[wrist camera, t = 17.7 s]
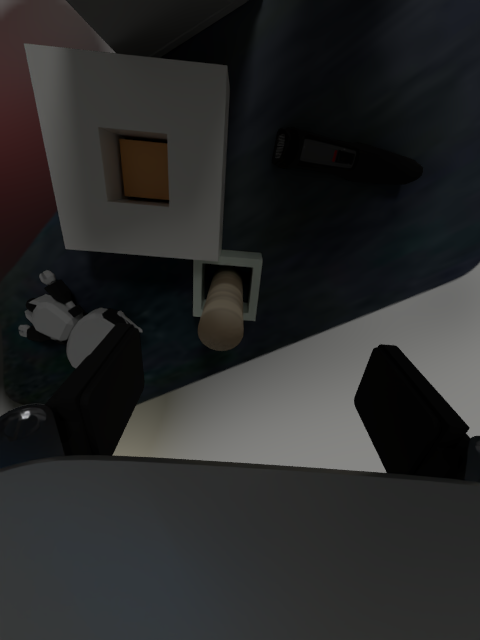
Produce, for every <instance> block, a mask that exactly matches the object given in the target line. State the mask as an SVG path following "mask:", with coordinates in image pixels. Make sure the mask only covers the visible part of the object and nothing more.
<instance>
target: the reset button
mask: <svg viewBox="0 0 480 640" xmlns="http://www.w3.org/2000/svg"><path fill="white" fill-rule="evenodd" d="M119 143H120V153H121V163H122V173H123V183H124V194H125V196H130V197H141V198H152V199H163V200H169V179H168V147H167V143H157V142H147V141H137V140H127V139H119Z"/></svg>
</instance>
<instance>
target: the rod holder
mask: <svg viewBox="0 0 480 640" xmlns="http://www.w3.org/2000/svg"><path fill="white" fill-rule="evenodd" d="M262 261H263V259H262V255H261V253H256V252H244V251H233V250H221V253H220V256H219V260H218V262H217V261H205V260H193V316H195V317H201V315H202V312H203V309H204V305H205V302H206V299H204V298H205V263H206V264H218V265H230V266H242V267H251V276H250V285H249V295H248V303H244V302H243V320H247V321H255V319H256V311H257V303H258V294H259V286H260V278H261V270H262Z"/></svg>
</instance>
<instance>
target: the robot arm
mask: <svg viewBox="0 0 480 640" xmlns="http://www.w3.org/2000/svg"><path fill="white" fill-rule="evenodd" d="M143 388H144V373H143V363H142V353H141V344H140V334H139V329H138V328H135V327H134V325H133V324H125V323H117V324H116V325H115V326H114V327H113V328H112V329H111V331H110V332H109V333H108V334H107V335H106V336H105V338H104V339H103V340H102V341H101V342H100V343H99V345H98V346H97V347H96V348H95V349H94V350H93V351H92V353H91V354H90V355H88V356H87V357H86V358H85V359H84V360H83V361H82V362H81V364H80V365H79V366H78V367H77V368H76V369H75V370H74V372H73V373H72V374H71V375H70V376H69V377H68V379H67V380H66V381H65V382H64V383H63V384H62V385H61V387H60V388H59V389H58V390H57V391H56V392H55V393H54V395H53V396H52V397H51V398H50V399H49V400H48V402H47V403H46V404H45V405H43V404H28V405H24V406H20V407H17V408H15V409H13V410H11V411H8V412H7V413H5V414H3V415H2V416H0V640H480V436H474V437H472V438H469V436H468V435H467V434H466V432H467V431H468V430H469V427H468V425H467V424H466V423H465V422H464V421H463V420H462V419H461V417H460V416H459V415H458V414H457V413H456V412H455V411H454V410H453V409H452V407H450V405H449V404H448V403H447V402H446V401H445V400H444V398H443V397H442V396H441V395H440V394H439V393H438V392H437V391H436V390H435V388H434V387H433V386H432V385H431V384H430V383H429V382H428V381H427V379H426V378H425V377H424V376H423V375H422V374H421V373H420V372H419V370H417V368H416V367H415V366H414V365H413V364H412V363H411V361H410V360H409V359H408V358H407V357H406V356H405V355H404V354H403V353H402V351H401V350H400V349H399V348H398V347H397V346H394V345H382V344H381V345H379V346H378V347H377V348H374V349H373V351H372V353H371V356H370V359H369V361H368V364H367V367H366V369H365V372H364V374H363V377H362V380H361V382H360V385H359V387H358V390H357V392H356V395H355V398H354V404H355V407H356V409H357V411H358V413H359V416H360V418H361V420H362V422H363V424H364V426H365V428H366V430H367V432H368V434H369V436H370V438H371V441H372V442H373V445H374V447H375V449H376V451H377V453H378V455H379V457H380V459H381V461H382V464H383V466H384V468H385V470H386V472H387V473H378V472H364V471H349V470H337V469H323V468H307V467H293V466H279V465H264V464H249V463H233V462H218V461H201V460H186V459H169V458H153V457H129V456H112V455H113V453H114V451H115V449H116V446H117V444H118V442H119V440H120V438H121V436H122V434H123V432H124V429H125V427H126V425H127V423H128V421H129V419H130V417H131V415H132V412H133V410H134V408H135V406H136V404H137V402H138V400H139V398H140V395H141V393H142V391H143Z"/></svg>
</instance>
